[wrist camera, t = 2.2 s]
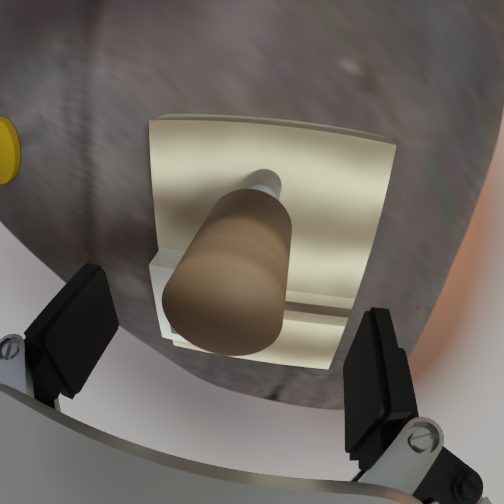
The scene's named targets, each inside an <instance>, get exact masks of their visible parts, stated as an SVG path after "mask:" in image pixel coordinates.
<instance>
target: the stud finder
mask: <svg viewBox="0 0 504 504" xmlns="http://www.w3.org/2000/svg"><path fill="white" fill-rule="evenodd" d="M185 252H186V251H181V250H174V249H167V248H160V250H159V251H158V253H157V254H156V255H155V257H154V258H153V260H152V261H151V262H150V264H149V270H150V276H151V282H152V287H153V293H154V298H155V304H156V309H157V314H158V319H159V324H160V328H161V333H162V337H164V338H168V339H173V340H177V341H182V342H187V343H190V342H188V341H187V340H185V339H184V338H183V337H181V336H180V335H179V334H178V333H177V332H176V331H175V330H174V329H173V328H172V326H171V325H170V323H169V322H168V320H167V318H166V316H165V314H164V311H163V308H162V293H163V290H164V287H165V285H166V284H167V282H168V280H169V278H170V277H171V275H172V273H173V272H174V270H175V268H176V267H177V265H178V263H179V262H180V260H181V258H182V257H183V255H184V253H185Z"/></svg>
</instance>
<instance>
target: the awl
mask: <svg viewBox="0 0 504 504" xmlns="http://www.w3.org/2000/svg"><path fill="white" fill-rule="evenodd" d="M281 187H282V184H281V180H280V178H279V176H278V175H277V174H276V173H275V172H273V171H271V170H269V169H259V170H257V171H255V172H253V173H252V174H251V176H250V177H249V179H248V181H247V183H246V185H245V187H244V189H239V190H235V191H232V192H230V193H228V194H226V195H224V196H223V197H221V198H220V199H219V200H218V201H217V202H216V204H215V205H214V207H213V208H212V210H211V211H210V213H209V215H208V216H207V218H206V219H205V221H204V222H203V224H202V226H201V227H200V229H199V230H198V232H197V234H196V235H195V237H194V239H193V240H192V242H191V243H190V245H189V247H188V248H187V250H186V252H185V253H184V255H183V257H182V258H181V260H180V262H179V263H178V265H177V267H176V268H175V270H174V272H173V273H172V275H171V277H170V278H169V280H168V282H167V284H166V285H165V287H164V290H163V293H162V308H163V311H164V314H165V316H166V318H167V320H168V322H169V323H170V325H171V326H172V328H173V329H174V330H175V331H176V332H177V333H178V334H179V335H180V336H181V337H183V338H184V339H185V340H187V341H188V342H190V343H191V344H193V345H195V346H197V347H199V348H201V349H203V350H206V351H208V352H212V353H215V354H220V355H226V356H244V355H250V354H254V353H257V352H260V351H262V350H264V349H266V348H267V347H269V346H270V345H271V344H273V343H274V342H275V340H276V339H277V338H278V336H279V334H280V332H281V330H282V326H283V317H284V308H285V299H286V289H287V279H288V269H289V259H290V248H291V237H292V223H291V219H290V216H289V214H288V212H287V210H286V208H285V207H284V206H283V205H282V204H281V203H280V201H279V198H280V192H281Z"/></svg>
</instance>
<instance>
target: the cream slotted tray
mask: <svg viewBox="0 0 504 504" xmlns="http://www.w3.org/2000/svg"><path fill="white" fill-rule="evenodd" d="M149 139H150V160H151V176H152V189H153V202H154V212H155V223H156V232H157V241H158V249H159V250H160V248H167V249H174V250H181V251H186V250H187V248H188V247H189V245H190V243H191V242H192V240H193V239H194V237H195V235H196V234H197V232H198V230H199V229H200V227H201V226H202V224H203V222H204V221H205V219H206V218H207V216H208V215H209V213H210V211H211V210H212V208H213V207H214V205H215V204H216V202H217V201H218V200H219V199H220V198H221V197H223V196H224V195H226V194H228V193H230V192H232V191H235V190H239V189H244V187H245V185H246V183H247V181H248V179H249V177H250V176H251V174H252V173H253V172H255V171H257V170H259V169H269V170H271V171H273V172H275V173H276V174H277V175H278V176H279V178H280V180H281V184H282V187H281V192H280V198H279V201H280V203H281V204H282V205H283V206H284V207H285V208H286V210H287V212H288V214H289V216H290V219H291V223H292V237H291V248H290V259H289V269H288V279H287V289H286V299H285V308H284V317H283V326H282V330H281V332H280V334H279V336H278V338H277V339H276V340H275V342H274V343H273V344H271V345H270V346H269V347H267V348H266V349H264V350H262V351H260V352H257V353H254V354H250V355H244V356H231V357H237V358H243V359H249V360H256V361H262V362H269V363H277V364H284V365H292V366H301V367H310V368H320V369H329V366H330V364H331V362H332V359H333V357H334V354H335V352H336V349H337V347H338V344H339V342H340V339H341V336H342V334H343V331H344V328H345V326H346V323H347V320H348V318H349V315H350V312H351V309H352V306H353V304H354V301H355V298H356V295H357V292H358V289H359V286H360V283H361V280H362V277H363V274H364V271H365V267H366V264H367V261H368V258H369V254H370V251H371V248H372V244H373V241H374V237H375V234H376V230H377V226H378V223H379V219H380V215H381V211H382V207H383V203H384V199H385V195H386V191H387V187H388V182H389V178H390V174H391V169H392V164H393V159H394V155H395V150H396V144H394V143H393V142H392V141H391V140H389V139H388V138H387V137H385V136H383V135H378V134H373V133H368V132H363V131H358V130H353V129H347V128H341V127H335V126H329V125H322V124H315V123H308V122H301V121H292V120H283V119H274V118H263V117H250V116H235V115H214V114H165V115H162V116H159V117H157V118H154V119H151V120H149ZM173 344H174V345H175V346H180V347H184V348H189V349H194V350H199V351H204V352H208V351H206V350H203V349H201V348H199V347H197V346H195V345H193V344H191V343H187V342H182V341H177V340H173ZM209 353H212V352H209ZM214 354H215V353H214ZM225 356H226V355H225Z"/></svg>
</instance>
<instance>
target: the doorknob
mask: <svg viewBox="0 0 504 504" xmlns="http://www.w3.org/2000/svg"><path fill="white" fill-rule="evenodd" d="M20 161H21V150H20V143H19V139H18V135H17V133H16V130H15V128H14V126H13V125H12V123H11V122H10V121H9V120H8V119H7V118H5V117H3V116H0V184H5V183H7V182H9V181H11V180H12V179H13V178H14V177H15V176H16V175H17V173H18V170H19V167H20Z"/></svg>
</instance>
